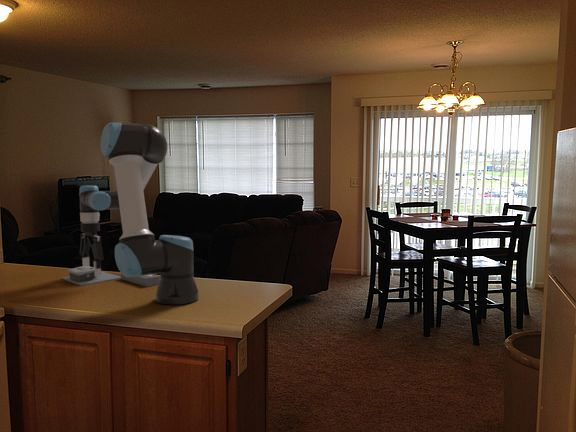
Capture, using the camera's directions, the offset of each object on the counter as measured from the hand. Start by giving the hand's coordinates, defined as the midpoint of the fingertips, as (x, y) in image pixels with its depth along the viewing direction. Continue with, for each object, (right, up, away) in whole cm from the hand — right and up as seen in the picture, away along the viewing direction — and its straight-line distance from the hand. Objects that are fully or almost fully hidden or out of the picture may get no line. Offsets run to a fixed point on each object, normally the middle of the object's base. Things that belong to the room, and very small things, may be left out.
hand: (91, 274), depth 215 cm
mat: (0, -2, 0) cm, 2 cm away
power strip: (+22, -3, -5) cm, 23 cm away
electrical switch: (0, -1, +1) cm, 1 cm away
